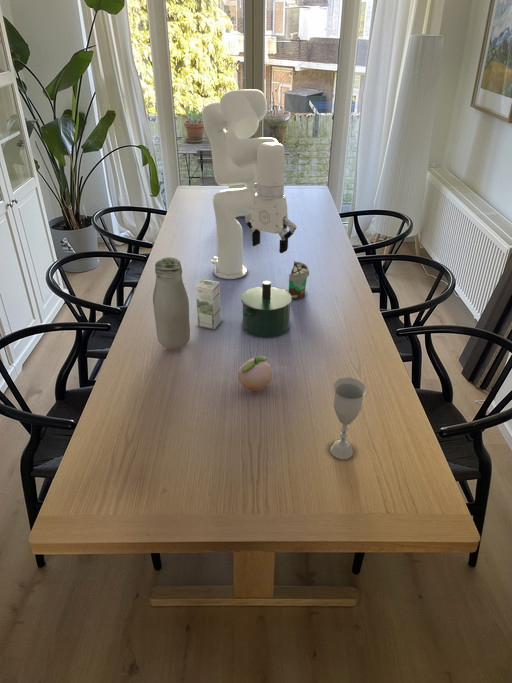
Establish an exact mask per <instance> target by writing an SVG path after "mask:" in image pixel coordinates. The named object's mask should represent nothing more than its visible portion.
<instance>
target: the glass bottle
mask: <svg viewBox="0 0 512 683" xmlns="http://www.w3.org/2000/svg"><path fill="white" fill-rule="evenodd" d="M182 269H183V268H182V264H181V261H180V260H179V259H177V258H176V257H172V256H171V257H170V256H166V257H162V258H160V259H158V260H157V261H156V262H155V264H154V272H155V283H154V288H153V293H152V303H153V304H152V305H153V313H154V322H155V330H156V337H157V340H158V341H157V342H158V343H159V344H160V345H161V346H162V348H164V349H166V350H173V351H174V350H179V349H182V348H184V347H186V346H187V344H188V343H189V341H190V338H191V324H190V323H191V322H190V301H189V296H188V292H187V289H186V287H185V284H184V281H183V276H182V275H183V270H182Z"/></svg>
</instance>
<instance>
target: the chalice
mask: <svg viewBox="0 0 512 683" xmlns="http://www.w3.org/2000/svg"><path fill="white" fill-rule="evenodd" d="M332 386H333V390H334V399H333V409H334V411H335V415H336V416H337V419H338V420H339V422H340V423H341V424H342V426H341V427H340V430H341V432H340V433H339V437H340V439H337V440H335V441H334V443H333V444H332V445H331V447H330V453H331V455H332V456H333V457H335V458H337V459H340V460H348V459H350V458H351V457H352V456H353V451H354V450H353V449H352V446H351V443H350V442H349V441H348V440H346V438H347V437H348V436H349V435H348V433H347V432H348V431H349V428H348V425H351V424H352V423H353V422H354V421H355V419H356V418H357V417H358V416H359V414H360V413H361V410H362V405H363V399H364V396H365V395H366V393H367V387H366V385H365V384H364V383H363V382H362V381H361V380H359V379H357V378H354V377H341V378H338V379H337V380H335V381H334V383H333V385H332Z"/></svg>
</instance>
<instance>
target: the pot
mask: <svg viewBox="0 0 512 683" xmlns="http://www.w3.org/2000/svg"><path fill="white" fill-rule="evenodd" d="M282 289H283V288H282ZM283 290H285V291H287V292H288V290H287V289H283ZM290 315H291V304H290V305H289V306H287V307H286V308H283V309H281V310H276V311H258V310H253V309H250V308H248V307H246V306H245V305H244V304H243V303H242V328H243V330H244V331H245V332H246V333H247V334H249V335H251V336H253V337H257V338H265V339H267V338H276V337H280V336H282V335H284V334H285V333H286V332H287V331H288V330H289V327H290Z"/></svg>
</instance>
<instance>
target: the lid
mask: <svg viewBox="0 0 512 683" xmlns="http://www.w3.org/2000/svg"><path fill="white" fill-rule="evenodd" d="M285 290H286V289H284V290H283V288H280V287H277V286H272V282H271V281H269V280H264V281H262V284H261V286H254V287H252V288H249V289H246V290H244V292H242V294H241V296H240V301H241V303H242V305H243V304H244V305H245V306H246V307H248V308H250V309H253V310H258V311H276V310H281V309H283V308H286V307H287V306H289V305H290V306H291V303H292V301H293V300H292V297H291V295H290V293H289V291H288V290H287V291H285Z"/></svg>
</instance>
